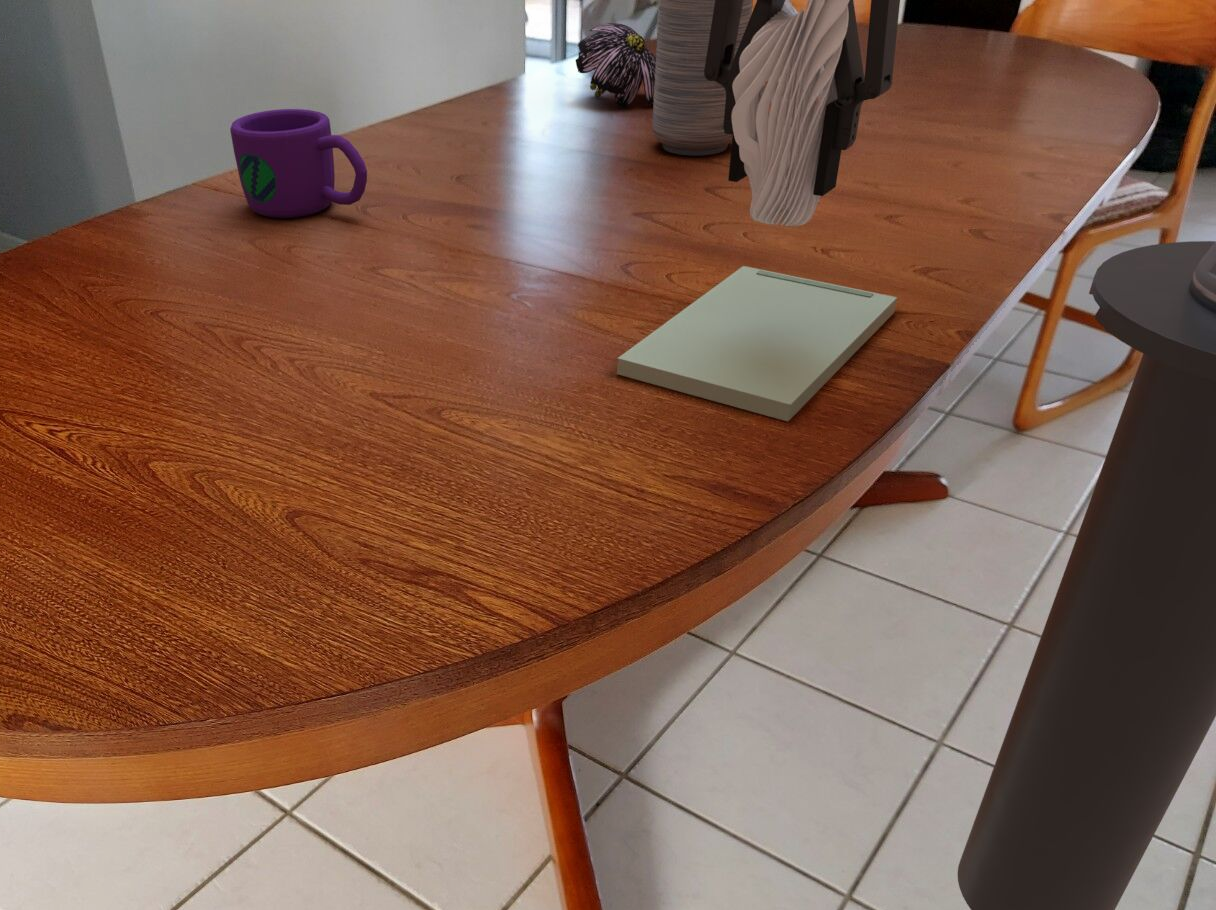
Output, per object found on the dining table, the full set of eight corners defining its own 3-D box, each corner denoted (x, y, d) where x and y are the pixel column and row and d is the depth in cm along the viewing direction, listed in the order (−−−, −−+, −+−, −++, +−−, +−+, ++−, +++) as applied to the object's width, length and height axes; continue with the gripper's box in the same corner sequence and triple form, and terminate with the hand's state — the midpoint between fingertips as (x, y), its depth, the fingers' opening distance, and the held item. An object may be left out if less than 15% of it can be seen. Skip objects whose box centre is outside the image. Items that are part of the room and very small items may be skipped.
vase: (656, 160, 135) (667, -40, 122) (646, 137, 145) (655, -51, 131) (745, 157, 135) (766, -43, 122) (730, 134, 144) (748, -55, 131)
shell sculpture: (734, 200, 88) (760, -41, 78) (834, 208, 86) (875, -39, 75) (715, 232, 82) (740, -25, 71) (822, 242, 79) (865, -22, 69)
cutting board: (741, 280, 101) (743, 264, 100) (894, 312, 94) (897, 295, 93) (616, 374, 86) (617, 356, 85) (788, 422, 79) (791, 402, 78)
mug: (224, 214, 123) (208, 126, 117) (286, 187, 131) (273, 104, 125) (340, 235, 116) (329, 143, 110) (398, 206, 124) (391, 118, 118)
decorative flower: (617, 46, 148) (576, -1, 157) (585, 122, 156) (547, 73, 164) (696, 64, 155) (653, 18, 164) (662, 136, 163) (622, 89, 171)
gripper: (994, -173, 66) (919, 190, 80) (718, -169, 76) (692, 155, 89) (960, -168, 61) (886, 217, 75) (669, -164, 71) (650, 177, 84)
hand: (781, 183), depth 82 cm, fingers closed on shell sculpture, 6 cm apart
